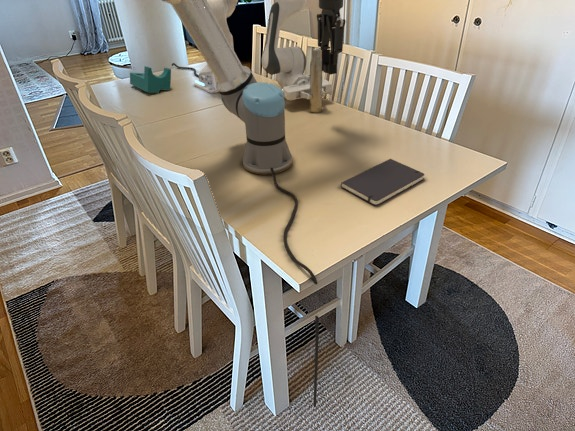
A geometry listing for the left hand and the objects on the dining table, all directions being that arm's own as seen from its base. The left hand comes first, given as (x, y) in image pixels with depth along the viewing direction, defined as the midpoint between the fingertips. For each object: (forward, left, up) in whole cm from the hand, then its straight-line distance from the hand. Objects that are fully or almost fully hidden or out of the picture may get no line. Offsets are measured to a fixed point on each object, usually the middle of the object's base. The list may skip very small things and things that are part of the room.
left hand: (317, 95), depth 157 cm
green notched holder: (-80, -19, -6) cm, 82 cm away
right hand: (+12, -11, +13) cm, 21 cm away
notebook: (+47, -35, -6) cm, 58 cm away
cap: (+12, -11, +16) cm, 22 cm away
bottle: (-1, 0, -6) cm, 6 cm away
